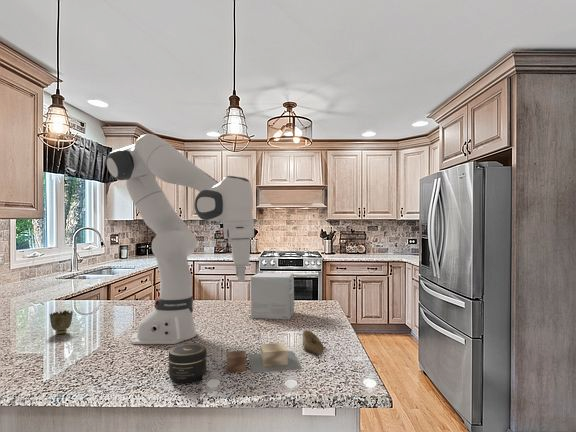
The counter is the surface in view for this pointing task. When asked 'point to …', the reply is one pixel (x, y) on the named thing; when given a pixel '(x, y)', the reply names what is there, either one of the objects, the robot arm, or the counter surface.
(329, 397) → the counter surface
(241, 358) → the walnut cube
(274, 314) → the supplement box
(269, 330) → the counter surface
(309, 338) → the fossil
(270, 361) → the maple base
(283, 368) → the build plate
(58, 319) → the cup
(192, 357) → the jar
